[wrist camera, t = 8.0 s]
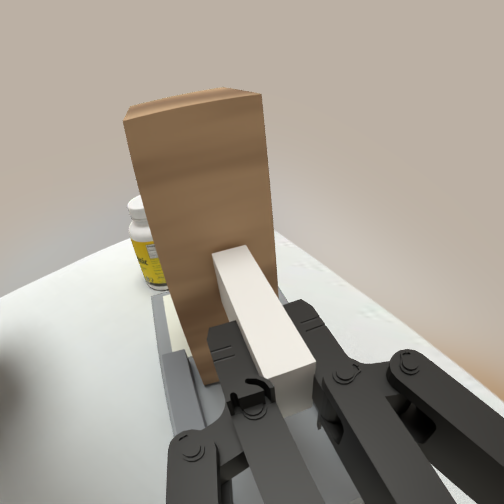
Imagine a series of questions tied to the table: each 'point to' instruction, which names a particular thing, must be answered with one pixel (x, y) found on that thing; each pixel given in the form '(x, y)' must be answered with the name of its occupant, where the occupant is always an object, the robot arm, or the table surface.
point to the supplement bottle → (145, 245)
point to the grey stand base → (213, 403)
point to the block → (203, 197)
